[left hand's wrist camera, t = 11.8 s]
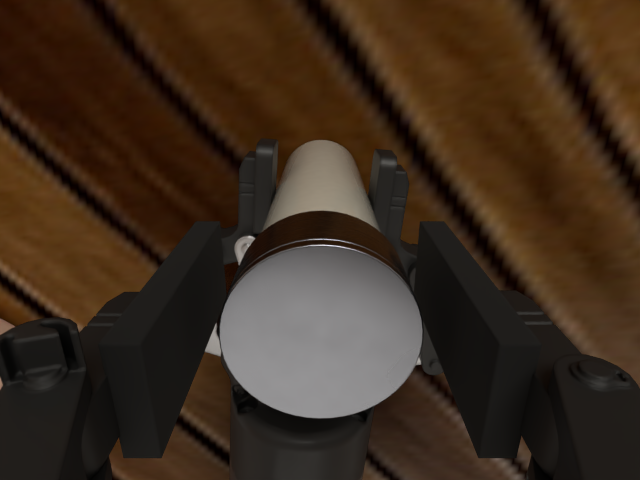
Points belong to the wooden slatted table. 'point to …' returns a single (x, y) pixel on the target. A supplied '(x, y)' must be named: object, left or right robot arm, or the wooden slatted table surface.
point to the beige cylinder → (321, 184)
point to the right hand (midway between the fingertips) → (326, 149)
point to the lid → (321, 317)
